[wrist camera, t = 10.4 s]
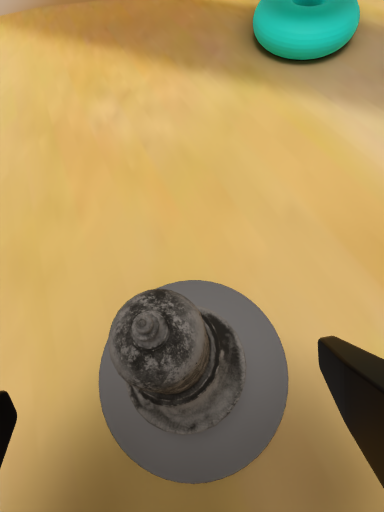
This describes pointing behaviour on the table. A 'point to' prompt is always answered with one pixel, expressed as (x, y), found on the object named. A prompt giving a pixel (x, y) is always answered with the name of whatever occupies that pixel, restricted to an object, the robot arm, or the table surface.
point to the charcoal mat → (232, 426)
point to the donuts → (305, 26)
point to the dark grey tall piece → (177, 361)
